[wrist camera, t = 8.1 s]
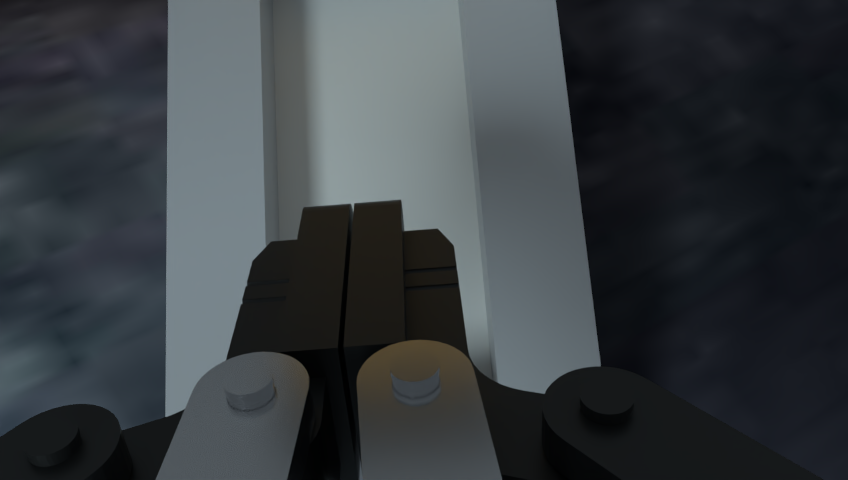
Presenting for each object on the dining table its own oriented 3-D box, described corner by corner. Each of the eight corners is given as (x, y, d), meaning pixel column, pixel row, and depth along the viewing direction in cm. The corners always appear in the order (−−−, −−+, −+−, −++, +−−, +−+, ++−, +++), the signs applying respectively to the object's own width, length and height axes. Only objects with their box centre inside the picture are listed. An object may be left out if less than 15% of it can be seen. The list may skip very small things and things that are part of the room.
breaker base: (593, 514, 19) (642, 538, 14) (214, 542, 19) (142, 575, 14) (511, -193, 24) (528, -345, 19) (209, -170, 24) (153, -317, 19)
